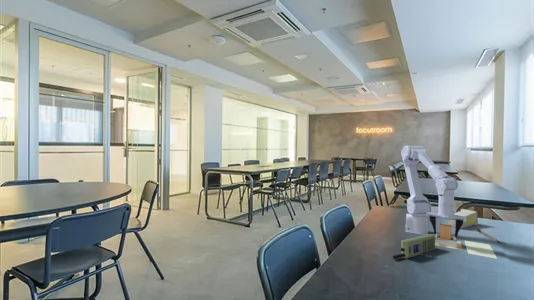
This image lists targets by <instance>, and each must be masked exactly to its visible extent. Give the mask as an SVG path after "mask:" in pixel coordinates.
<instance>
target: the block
mask: <svg viewBox="0 0 534 300" xmlns="http://www.w3.org/2000/svg"><path fill="white" fill-rule="evenodd" d="M454 215H458V216H464V217H466V222H463V225H462V226H461V228H460V229H464V228H467V227H471V226H478V223H479V222H478V221H479V220H478V218H479V216H478V211H475V210H472V209H466V208H460V211H457V212H455V213H454ZM447 224H449V225H451V228H453V229H455V228H456V220H449V219H447Z"/></svg>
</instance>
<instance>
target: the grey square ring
mask: <svg viewBox="0 0 534 300" xmlns="http://www.w3.org/2000/svg"><path fill="white" fill-rule="evenodd" d="M434 235H435V244H439V245H444V246H450V247H456V248H457V238H456V237H455V235H454V236H453V235H451V240H447V239H441V238H440V233H436V234H434Z"/></svg>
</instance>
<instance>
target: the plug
mask: <svg viewBox="0 0 534 300" xmlns="http://www.w3.org/2000/svg"><path fill="white" fill-rule="evenodd" d="M439 234H440V238H441V239H447V240H451V236H452V227H451V225H449V224H448V223H441V222H440V223H439Z"/></svg>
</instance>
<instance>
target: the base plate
mask: <svg viewBox="0 0 534 300" xmlns="http://www.w3.org/2000/svg"><path fill="white" fill-rule="evenodd" d="M462 245H463V244H462V242H461V241H457V248H456V247H450V246H444V245H439V244H435V247H436V246H437V247H440V248H441V247H442V248H447V249H454V250H460V251H464V249H463V246H462Z"/></svg>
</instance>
